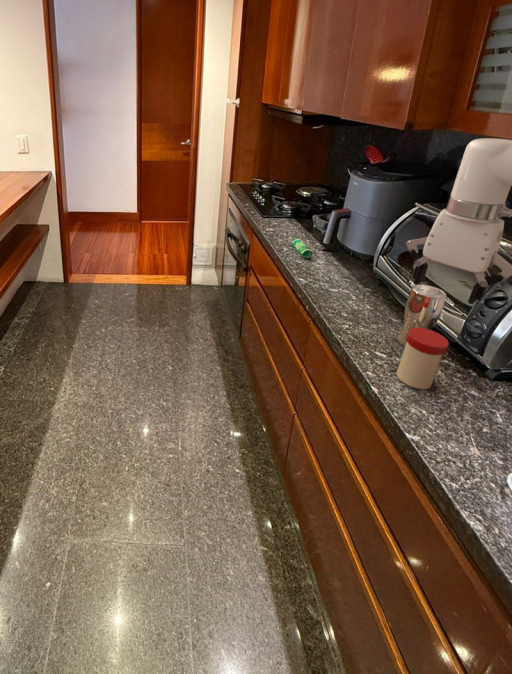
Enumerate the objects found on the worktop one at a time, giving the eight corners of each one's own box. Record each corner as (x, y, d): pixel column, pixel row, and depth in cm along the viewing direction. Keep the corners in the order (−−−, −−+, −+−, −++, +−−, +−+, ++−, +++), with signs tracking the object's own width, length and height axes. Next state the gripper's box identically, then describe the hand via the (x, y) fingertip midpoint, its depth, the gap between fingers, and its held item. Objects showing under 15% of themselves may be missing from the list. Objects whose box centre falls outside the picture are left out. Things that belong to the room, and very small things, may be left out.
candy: (314, 256, 143) (309, 247, 142) (305, 260, 144) (300, 252, 142) (301, 243, 154) (297, 235, 153) (293, 248, 155) (289, 240, 153)
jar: (427, 373, 87) (442, 334, 83) (434, 393, 81) (450, 352, 77) (394, 365, 89) (406, 327, 85) (398, 383, 84) (412, 343, 80)
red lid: (441, 339, 83) (444, 332, 83) (450, 359, 78) (453, 351, 77) (403, 331, 86) (405, 324, 85) (409, 349, 80) (411, 342, 80)
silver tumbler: (430, 342, 97) (449, 290, 91) (426, 355, 92) (445, 301, 87) (398, 331, 101) (414, 280, 96) (392, 343, 97) (408, 291, 91)
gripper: (544, 217, 66) (507, 305, 72) (426, 195, 79) (403, 270, 86) (533, 226, 62) (494, 318, 68) (410, 201, 75) (388, 280, 82)
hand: (444, 291), depth 77 cm, fingers open, 8 cm apart
